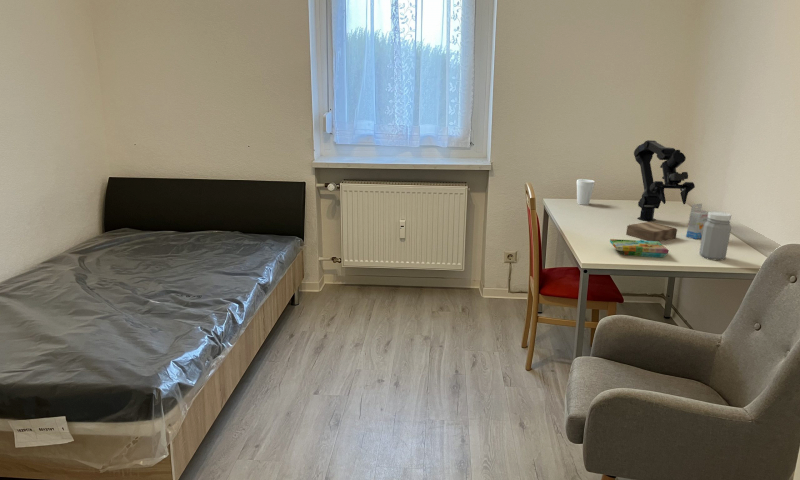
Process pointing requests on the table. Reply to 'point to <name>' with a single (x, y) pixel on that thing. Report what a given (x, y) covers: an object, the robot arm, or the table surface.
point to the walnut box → (651, 231)
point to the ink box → (696, 222)
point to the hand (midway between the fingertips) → (674, 203)
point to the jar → (716, 235)
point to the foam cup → (584, 191)
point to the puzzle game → (640, 247)
